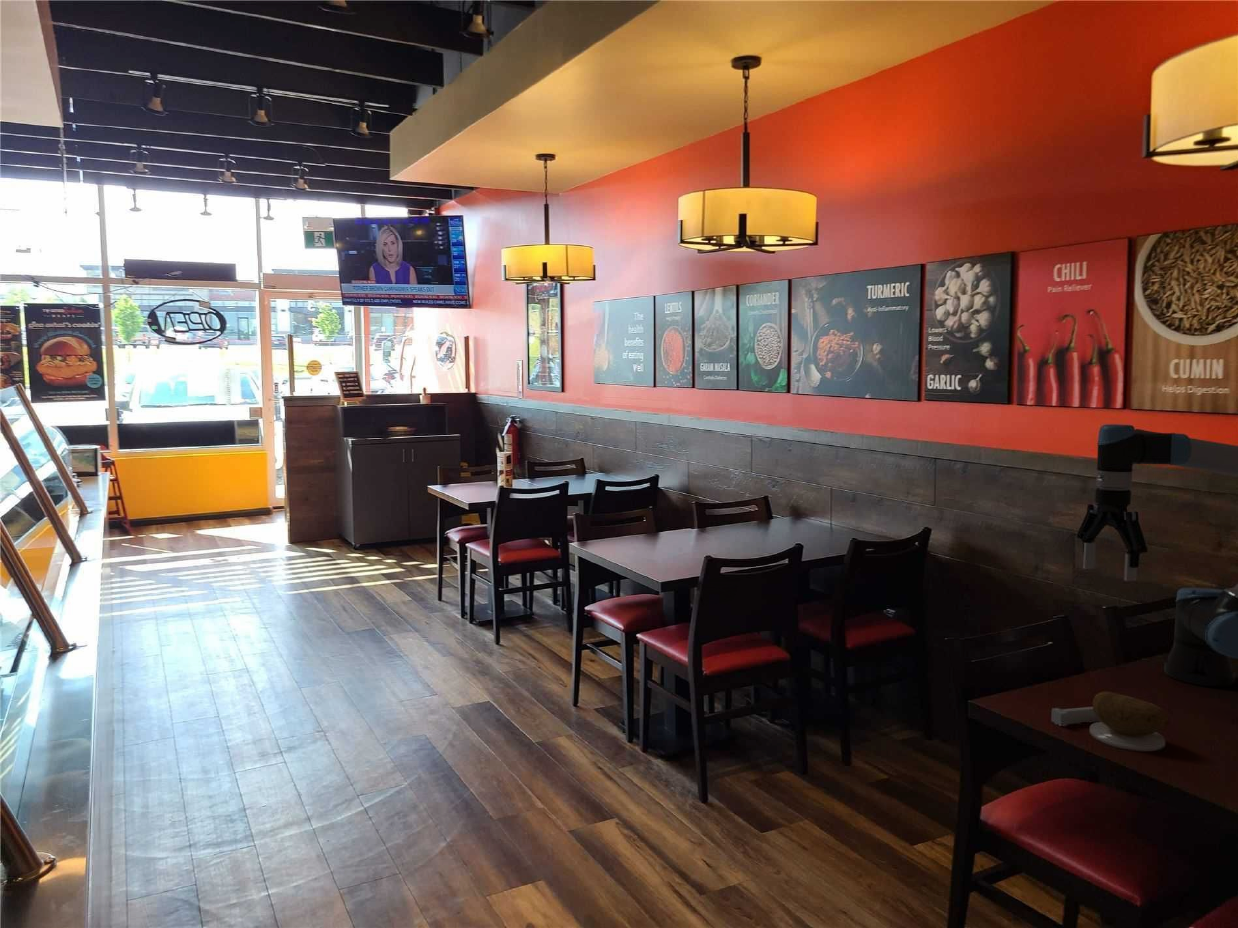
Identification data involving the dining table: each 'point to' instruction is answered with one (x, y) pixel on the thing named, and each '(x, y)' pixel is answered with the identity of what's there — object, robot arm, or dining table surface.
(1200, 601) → the robot arm
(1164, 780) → the dining table surface
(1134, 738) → the plate
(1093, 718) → the rail
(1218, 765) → the dining table surface
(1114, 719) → the potato
